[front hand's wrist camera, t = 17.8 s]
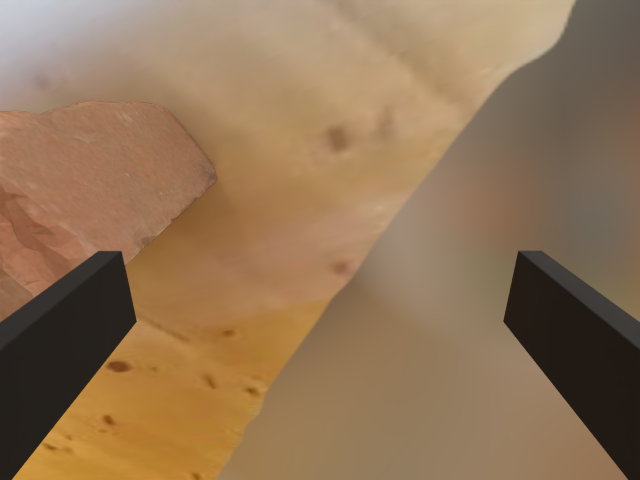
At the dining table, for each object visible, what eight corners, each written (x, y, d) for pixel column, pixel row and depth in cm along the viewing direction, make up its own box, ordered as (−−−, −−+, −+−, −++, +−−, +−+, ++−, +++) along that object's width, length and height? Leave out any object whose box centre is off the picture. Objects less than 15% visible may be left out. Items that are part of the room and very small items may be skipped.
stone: (97, 270, 50) (-141, 463, 23) (28, 202, 46) (-343, 337, 20) (225, 176, 46) (114, 280, 19) (160, 95, 42) (-80, 86, 16)
